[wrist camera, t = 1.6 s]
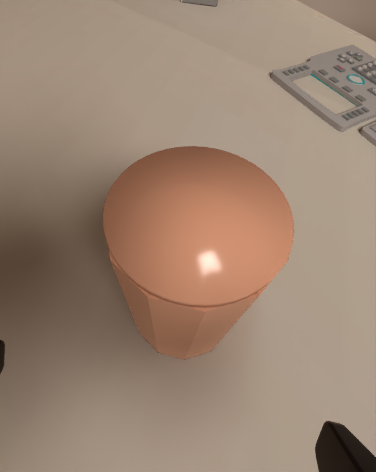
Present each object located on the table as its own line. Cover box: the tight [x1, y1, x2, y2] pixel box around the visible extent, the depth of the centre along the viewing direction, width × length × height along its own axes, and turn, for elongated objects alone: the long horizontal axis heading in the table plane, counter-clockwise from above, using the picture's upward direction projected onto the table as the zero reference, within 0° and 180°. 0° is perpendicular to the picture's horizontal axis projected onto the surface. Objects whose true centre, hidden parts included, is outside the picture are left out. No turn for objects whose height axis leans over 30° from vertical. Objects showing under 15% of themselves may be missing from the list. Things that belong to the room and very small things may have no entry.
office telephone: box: [270, 45, 376, 146], centre depth 39 cm, size 23×3×20 cm
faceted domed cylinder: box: [103, 146, 294, 360], centre depth 16 cm, size 7×7×12 cm
